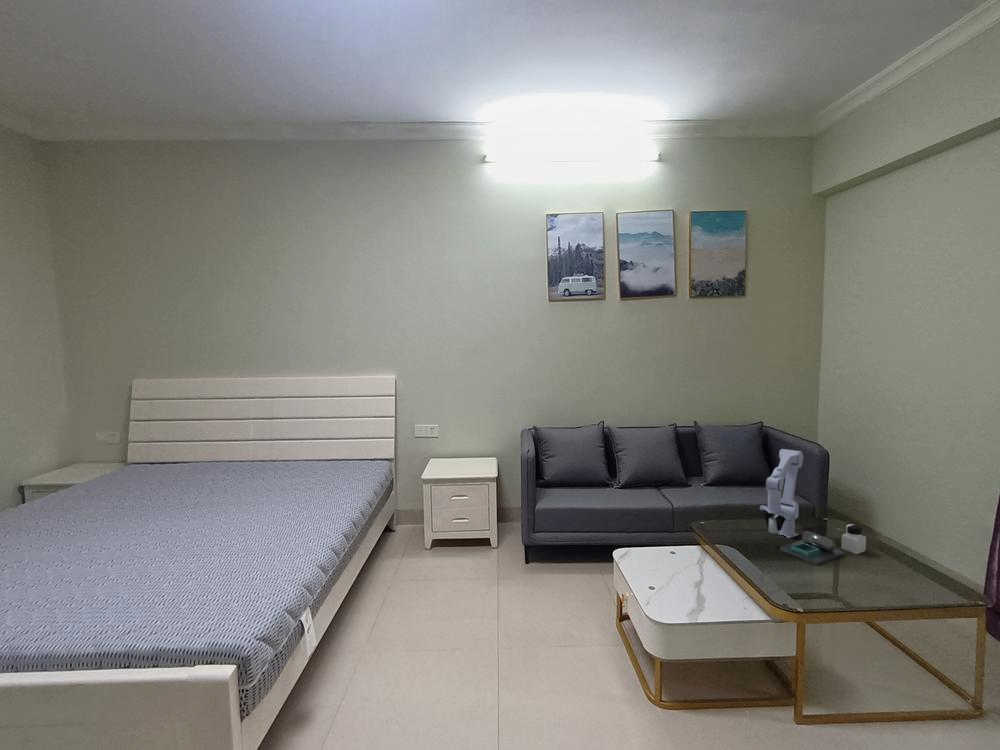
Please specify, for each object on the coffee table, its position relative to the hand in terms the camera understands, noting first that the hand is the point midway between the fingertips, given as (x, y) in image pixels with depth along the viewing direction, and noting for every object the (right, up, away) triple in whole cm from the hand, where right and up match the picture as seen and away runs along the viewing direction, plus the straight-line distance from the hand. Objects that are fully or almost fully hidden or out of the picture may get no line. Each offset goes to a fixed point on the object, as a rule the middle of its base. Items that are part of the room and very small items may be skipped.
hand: (774, 528), depth 246 cm
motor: (+13, -9, -8) cm, 18 cm away
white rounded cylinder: (0, -2, 0) cm, 2 cm away
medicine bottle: (+34, -8, -7) cm, 36 cm away
